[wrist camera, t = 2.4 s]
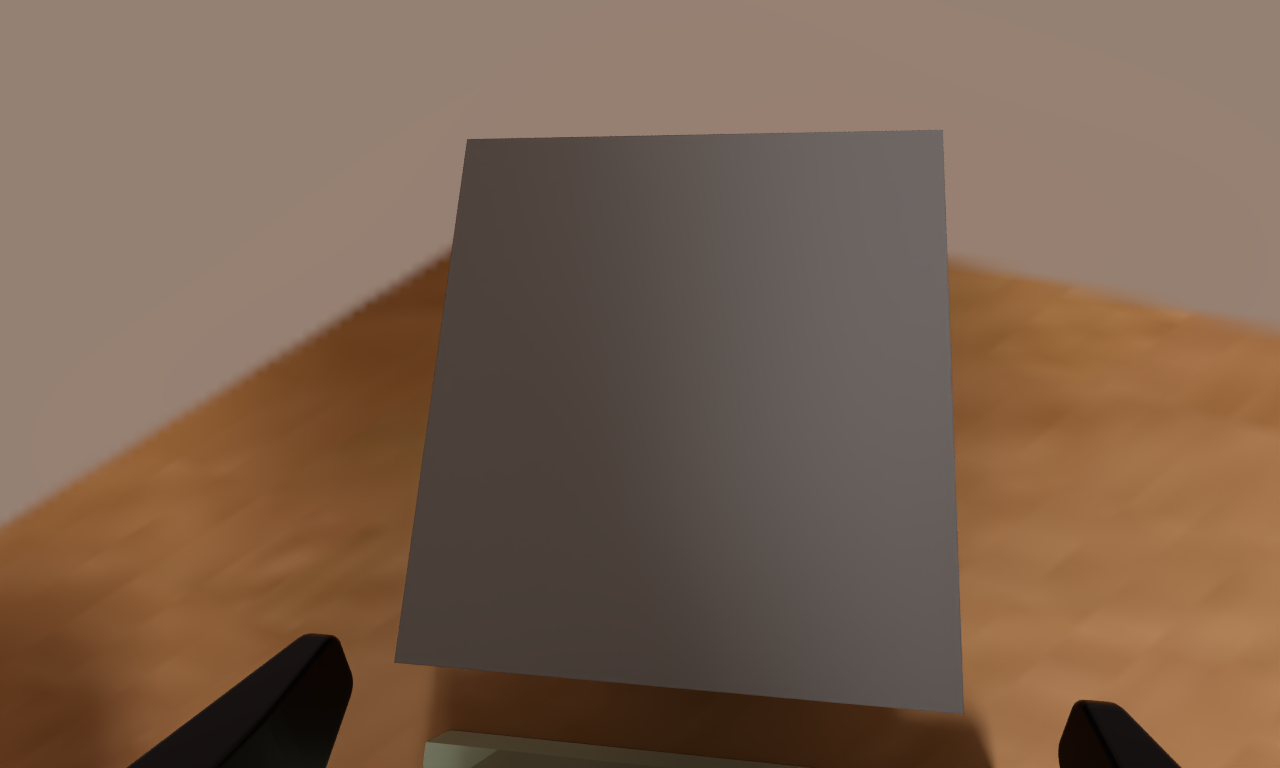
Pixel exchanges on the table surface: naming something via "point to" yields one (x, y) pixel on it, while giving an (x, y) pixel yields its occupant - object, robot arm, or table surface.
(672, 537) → the gray block
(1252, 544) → the table surface
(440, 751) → the socket base
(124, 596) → the table surface
